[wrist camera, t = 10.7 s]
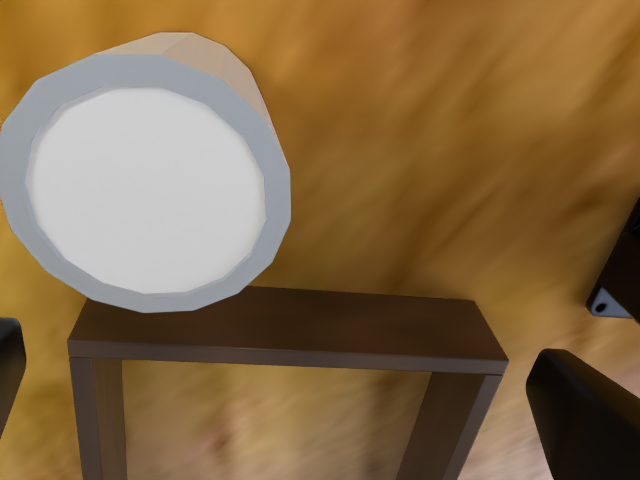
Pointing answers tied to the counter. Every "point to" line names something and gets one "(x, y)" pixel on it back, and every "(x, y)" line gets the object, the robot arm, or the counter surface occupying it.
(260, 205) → the shot glass
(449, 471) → the brown square frame
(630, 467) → the robot arm
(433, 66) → the counter surface
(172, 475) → the counter surface
